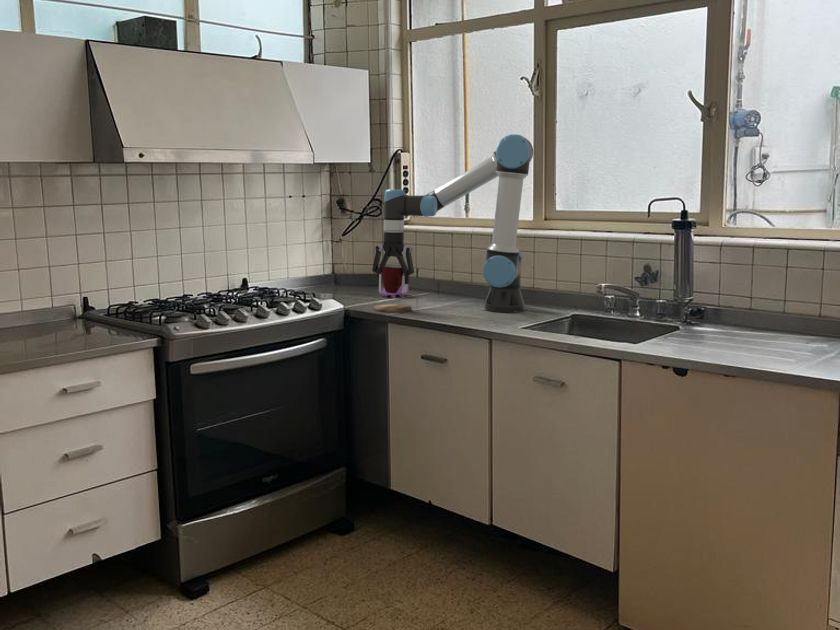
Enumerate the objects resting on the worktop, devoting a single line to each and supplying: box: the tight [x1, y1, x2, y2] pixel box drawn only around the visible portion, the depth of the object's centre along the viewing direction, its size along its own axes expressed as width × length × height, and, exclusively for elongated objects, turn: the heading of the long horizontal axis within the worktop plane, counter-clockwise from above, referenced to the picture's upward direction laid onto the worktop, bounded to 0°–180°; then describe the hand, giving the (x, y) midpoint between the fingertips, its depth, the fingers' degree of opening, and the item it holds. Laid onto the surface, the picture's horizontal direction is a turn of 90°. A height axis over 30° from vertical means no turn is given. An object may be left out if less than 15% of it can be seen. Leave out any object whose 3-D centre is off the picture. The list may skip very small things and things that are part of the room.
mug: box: [381, 264, 404, 293], centre depth 322 cm, size 10×8×10 cm
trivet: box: [373, 303, 412, 314], centre depth 324 cm, size 14×14×1 cm
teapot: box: [378, 284, 409, 299], centre depth 361 cm, size 18×13×10 cm
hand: (392, 291), depth 323 cm, fingers closed on mug, 9 cm apart
